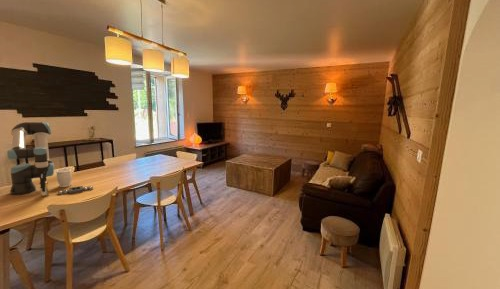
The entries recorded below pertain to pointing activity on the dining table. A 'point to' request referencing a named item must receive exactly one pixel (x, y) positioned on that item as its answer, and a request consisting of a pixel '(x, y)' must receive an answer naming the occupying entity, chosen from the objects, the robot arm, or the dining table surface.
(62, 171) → the jar
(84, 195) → the dining table surface
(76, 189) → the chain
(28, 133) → the robot arm
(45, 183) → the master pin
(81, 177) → the dining table surface
